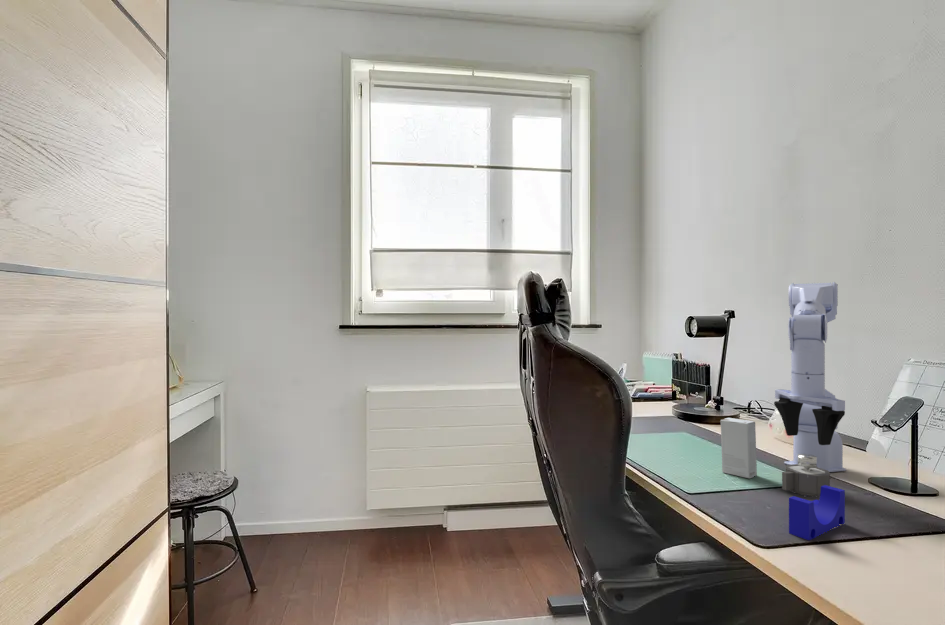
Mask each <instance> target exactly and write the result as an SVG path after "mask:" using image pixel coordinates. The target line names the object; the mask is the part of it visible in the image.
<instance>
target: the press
mask: <svg viewBox="0 0 945 625" xmlns="http://www.w3.org/2000/svg"><path fill="white" fill-rule="evenodd" d="M830 475H831V474H830V472H829V471H828V470H825V469H822V468H819V467H817V468H810V471H805V470H804V467H801V466H799V465H798V464H792V465H787V464H785V471H782V472H781V489H782V490H785V491H789V492H792V493H794V492H795V493H794V494H797V493H798V495H801V494H802V496H806V495H808V496H807V497H812V496H817V497H816V498H820V493H821V486H824V485H827V486H830V484H831V483H830V480H831V478H830V477H831V476H830Z"/></svg>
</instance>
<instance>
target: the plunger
mask: <svg viewBox="0 0 945 625" xmlns="http://www.w3.org/2000/svg"><path fill="white" fill-rule="evenodd" d="M798 465H799V466H801V467H804V470H805V471H810V468H817V457H816V456H814V455H810V454H798Z"/></svg>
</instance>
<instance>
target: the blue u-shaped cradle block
mask: <svg viewBox="0 0 945 625" xmlns="http://www.w3.org/2000/svg"><path fill="white" fill-rule="evenodd" d="M845 491H846V490H845V489H842V488H837V487H833V486H827V485H824V486H821V493H820V497H819V498H818V499H813V500H808V499H805V498H803V497H802V498H801V497H798V496H795V495H793V496H790V497H788V533H789V534H790V535H793V536H795V537H798V538H802V539H804V540H807V541H811V540H813V539H815V538H818V537H819V535H820V536H822V535H824V534H825V533H824V532H826V533H828V532H827V531H829V530H830V529H832V528H834V527H837V526H840V525H839V524H844V523H845V524H846V522H845V521H846V519H845V517H846V506H845V504H846V502H845V501H846V498H845V497H846V496H845V495H846V494H845V493H846V492H845ZM845 524H844V525H845ZM840 527H841V526H840ZM837 528H838V527H837ZM829 532H830V531H829ZM823 533H824V534H823ZM821 534H822V535H821ZM817 536H818V537H817Z"/></svg>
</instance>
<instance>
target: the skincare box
mask: <svg viewBox="0 0 945 625" xmlns="http://www.w3.org/2000/svg"><path fill="white" fill-rule="evenodd" d="M756 433H757V431H756V421H753V420H748V419H747V420H746V419H739V418H734V417H733V418H732V417H726V418H722V419H720V437H721V438H720V441H721V444H720V445H721V470H722V471H721V472H722V473H725V474H728V475H732V476H737V477H741V478H744V479H745V478H746V479H752V478H754V476H755V477H756V476H757V475H758V470H757V468H758V467H757V465H758V464H757V437H756V435H757V434H756Z"/></svg>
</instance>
